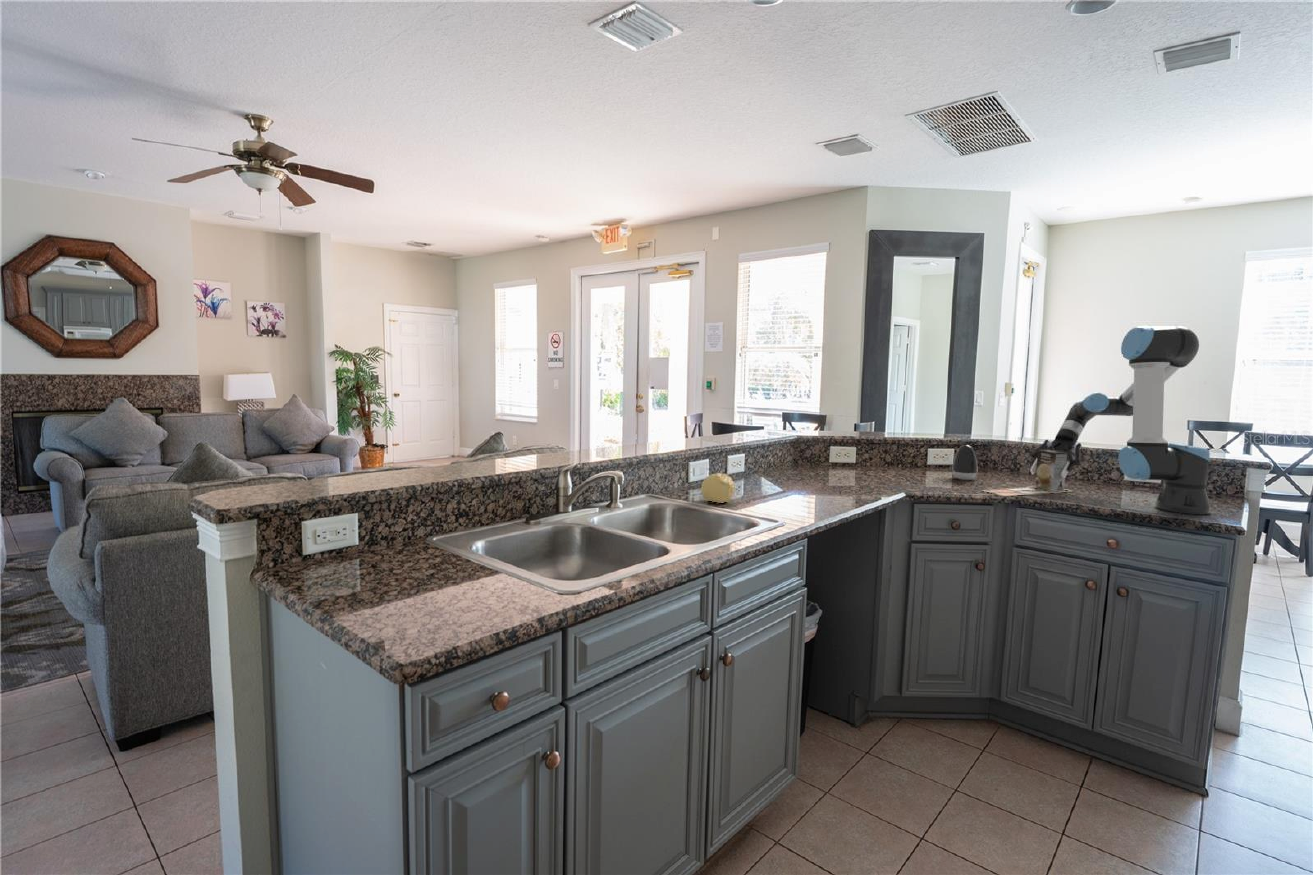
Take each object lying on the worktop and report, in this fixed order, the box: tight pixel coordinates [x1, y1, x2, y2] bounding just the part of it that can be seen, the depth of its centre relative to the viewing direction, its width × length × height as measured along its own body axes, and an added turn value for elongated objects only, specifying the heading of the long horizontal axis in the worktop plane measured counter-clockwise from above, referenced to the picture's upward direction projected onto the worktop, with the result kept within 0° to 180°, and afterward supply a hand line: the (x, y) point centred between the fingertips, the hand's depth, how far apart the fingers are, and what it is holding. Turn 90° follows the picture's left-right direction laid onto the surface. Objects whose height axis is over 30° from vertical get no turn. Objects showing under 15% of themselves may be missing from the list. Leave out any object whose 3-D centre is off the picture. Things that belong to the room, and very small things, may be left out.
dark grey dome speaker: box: [951, 444, 979, 481], centre depth 287 cm, size 10×10×15 cm
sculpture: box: [700, 472, 736, 503], centre depth 236 cm, size 12×12×11 cm
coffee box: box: [1034, 449, 1068, 492], centre depth 264 cm, size 9×6×16 cm
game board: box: [981, 485, 1074, 498], centre depth 261 cm, size 12×35×1 cm, turn 109°
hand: (1047, 474), depth 263 cm, fingers open, 11 cm apart
